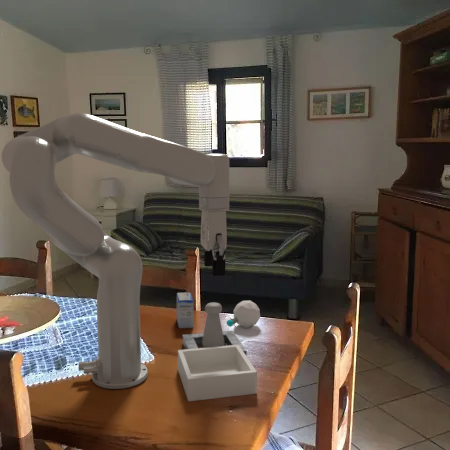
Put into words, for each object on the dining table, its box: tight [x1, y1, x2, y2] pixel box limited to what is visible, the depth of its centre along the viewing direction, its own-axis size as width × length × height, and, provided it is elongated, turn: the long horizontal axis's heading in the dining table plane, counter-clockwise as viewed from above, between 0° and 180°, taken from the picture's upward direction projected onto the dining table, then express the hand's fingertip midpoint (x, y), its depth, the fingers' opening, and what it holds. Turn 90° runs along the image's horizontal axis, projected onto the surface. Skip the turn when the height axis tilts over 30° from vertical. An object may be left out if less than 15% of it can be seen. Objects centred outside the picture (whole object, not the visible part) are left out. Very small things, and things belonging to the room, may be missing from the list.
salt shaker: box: [202, 301, 225, 348], centre depth 126 cm, size 6×6×13 cm
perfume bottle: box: [226, 299, 261, 329], centre depth 143 cm, size 8×8×12 cm
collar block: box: [182, 330, 248, 357], centre depth 127 cm, size 14×14×2 cm
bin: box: [177, 345, 258, 402], centre depth 110 cm, size 15×15×5 cm
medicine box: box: [176, 292, 194, 329], centre depth 146 cm, size 8×4×9 cm, turn 10°
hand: (214, 270), depth 124 cm, fingers open, 9 cm apart
